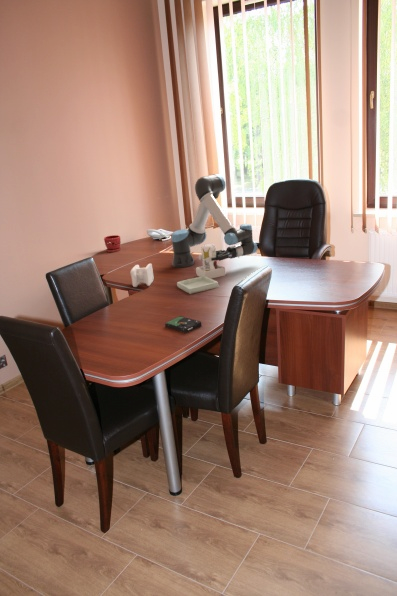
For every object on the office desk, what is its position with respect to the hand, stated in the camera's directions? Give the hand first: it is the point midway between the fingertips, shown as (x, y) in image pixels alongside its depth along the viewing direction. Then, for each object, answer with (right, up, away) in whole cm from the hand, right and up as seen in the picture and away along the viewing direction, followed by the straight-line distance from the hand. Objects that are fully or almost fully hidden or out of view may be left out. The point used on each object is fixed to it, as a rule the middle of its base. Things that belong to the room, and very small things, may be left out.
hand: (202, 258), depth 301 cm
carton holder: (+5, -10, +5) cm, 12 cm away
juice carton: (+5, -10, +5) cm, 13 cm away
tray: (-3, -18, -15) cm, 23 cm away
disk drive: (-10, -38, -71) cm, 81 cm away
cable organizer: (-37, -16, +2) cm, 40 cm away
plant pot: (-72, +15, +105) cm, 128 cm away
